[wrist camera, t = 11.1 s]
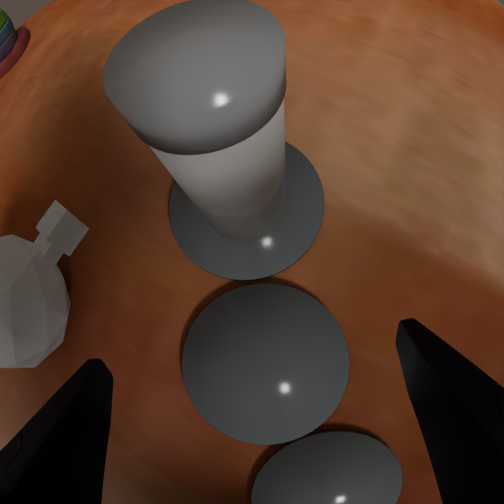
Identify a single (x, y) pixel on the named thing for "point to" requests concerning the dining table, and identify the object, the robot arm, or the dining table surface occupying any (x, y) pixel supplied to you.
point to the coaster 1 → (261, 250)
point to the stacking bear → (10, 43)
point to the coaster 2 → (330, 471)
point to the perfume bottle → (35, 289)
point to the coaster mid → (265, 363)
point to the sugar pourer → (210, 107)
